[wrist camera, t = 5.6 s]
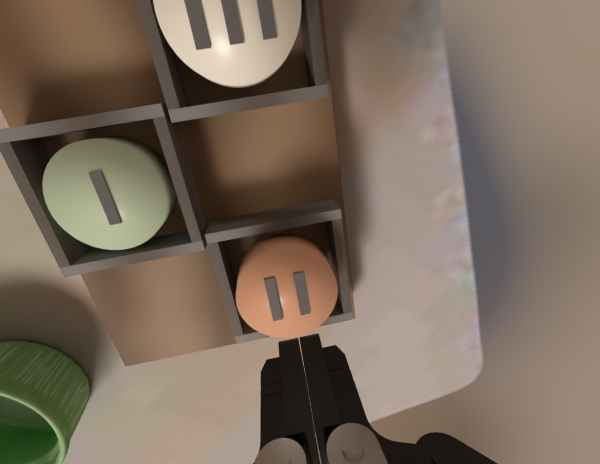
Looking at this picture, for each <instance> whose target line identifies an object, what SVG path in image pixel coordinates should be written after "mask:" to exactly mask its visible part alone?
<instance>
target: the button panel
mask: <svg viewBox="0 0 600 464" xmlns="http://www.w3.org/2000/svg"><path fill="white" fill-rule="evenodd" d="M0 108H1V110H2V112H3V115H4V117H5V119H6V121H7V123H8V125H9V127H10V128H6V129H0V152H1V154H2V156H3V157H4V159H5V161H6V163H7V165H8V167H9V169H10V171H11V173H12V175H13V177H14V179H15V181H16V183H17V185H18V187H19V189H20V191H21V193H22V195H23V197H24V199H25V201H26V203H27V205H28V207H29V209H30V210H31V212H32V214H33V216H34V218H35V220H36V222H37V224H38V226H39V228H40V230H41V232H42V234H43V236H44V238H45V240H46V242H47V244H48V246H49V248H50V250H51V252H52V254H53V256H54V258H55V260H56V262H57V264H58V265H59V267H60V269H61V271H62V273H63V275H64V277H67V276H72V275H77V274H81V276H82V278H83V280H84V282H85V284H86V286H87V288H88V290H89V292H90V294H91V296H92V298H93V300H94V302H95V305H96V307H97V309H98V311H99V313H100V315H101V317H102V319H103V321H104V323H105V325H106V327H107V329H108V331H109V333H110V336H111V338H112V340H113V342H114V344H115V346H116V348H117V350H118V352H119V354H120V356H121V358H122V360H123V362H124V364H125V366H130V365H134V364H139V363H144V362H149V361H154V360H158V359H163V358H168V357H173V356H177V355H182V354H187V353H192V352H197V351H201V350H206V349H211V348H216V347H221V346H225V345H230V344H235V343H242V342H247V341H252V340H256V339H261V338H266V337H271V336H268V335H264V334H262V333H260V332H258V331H256V330H254V329H253V328H252V327H250V326H249V325H248V324H247V323H246V322H245V321H244V319H243V318H242V317H241V315H240V313H239V311H238V308H237V304H236V288H237V280H238V272H239V267H240V263H241V261H242V259H243V257H244V256H245V254H246V253H247V251H248V250H249V249H250V248H251V247H252V246H253V245H255V244H256V243H257V242H259V241H261V240H262V239H264V238H267V237H269V236H273V235H277V234H295V235H299V236H302V237H305V238H307V239H309V240H311V241H312V242H314V243H315V244H316V245H317V246H319V247H320V249H321V250H322V251H323V252H324V254H325V256H326V258H327V260H328V262H329V265H330V267H331V269H332V271H333V273H334V275H335V278H336V281H337V286H338V295H337V301H336V304H335V307H334V309H333V311H332V312H331V314H330V315H329V317H328V318H327V319H326V320H325V321H324V322H323V323H322V324H321V325H320V326H323V325H328V324H333V323H338V322H342V321H347V320H352V319H354V318H355V310H354V300H353V291H352V282H351V272H350V263H349V253H348V244H347V234H346V225H345V215H344V206H343V196H342V187H341V178H340V168H339V159H338V149H337V140H336V130H335V121H334V111H333V102H332V93H331V83H330V74H329V64H328V55H327V45H326V36H325V26H324V17H323V7H322V0H301V20H300V26H299V30H298V34H297V37H296V40H295V42H294V45H293V47H292V49H291V51H290V53H289V55H288V56H287V58H286V60H285V62H284V63H283V65H282V66H281V67H280V69H279V70H278V71H277V72H276V73H275V74H274V75H273V76H271V77H270V78H269V79H267V80H266V81H264V82H262V83H260V84H258V85H255V86H251V87H247V88H230V87H225V86H222V85H219V84H216V83H214V82H212V81H210V80H208V79H206V78H205V77H203V76H202V75H200V74H198V73H197V72H195V71H194V70H192V69H191V68H190V67H189V66H188V65H186V64H185V63H184V62H183V61H182V60H181V59H180V58H179V57H178V56H177V54H176V53H175V52H174V50H173V49H172V48H171V46H170V45H169V43H168V41H167V40H166V38H165V36H164V34H163V32H162V30H161V28H160V25H159V22H158V19H157V16H156V13H155V8H154V4H153V0H0ZM105 136H123V137H128V138H132V139H135V140H138V141H140V142H142V143H144V144H146V145H148V146H149V147H151V148H152V149H153V150H155V151H156V152H157V153H158V154H159V155H160V156H161V157H162V158H163V159H164V160H165V162H166V163H167V165H168V168H169V172H170V175H171V178H172V181H173V184H174V187H175V191H176V194H177V198H176V204H175V207H174V209H173V211H172V213H171V215H170V216H169V218H168V219H167V220H166V221H165V223H164V224H163V225H162V226H161V227H160V229H159V230H158V231H157V232H156V233H155V234H154V235H153V236H152V237H151V238H150V239H149V240H147V241H146V242H144V243H142V244H141V245H138V246H136V247H133V248H129V249H123V250H107V249H101V248H96V247H93V246H90V245H88V244H85V243H83V242H81V241H79V240H78V239H76V238H74V237H73V236H71V235H70V234H69V233H67V232H66V231H65V230H64V229H63V228H62V227H61V226H60V225H59V224H58V223H57V222H56V220H55V219H54V218H53V216H52V215H51V213H50V211H49V209H48V207H47V205H46V202H45V199H44V195H43V187H42V185H43V175H44V171H45V169H46V166H47V164H48V163H49V161H50V159H51V158H52V157H53V156H54V155H55V153H57V152H58V151H59V150H60V149H62V148H63V147H65V146H67V145H69V144H71V143H74V142H77V141H81V140H87V139H93V138H99V137H105ZM318 327H319V326H318Z"/></svg>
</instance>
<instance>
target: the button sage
mask: <svg viewBox="0 0 600 464" xmlns="http://www.w3.org/2000/svg"><path fill="white" fill-rule="evenodd" d="M42 187H43V195H44V199H45V202H46V205H47V207H48V209H49V211H50V213H51V215H52V216H53V218H54V219H55V220H56V222H57V223H58V224H59V225H60V226H61V227H62V228H63V229H64V230H65V231H66V232H67V233H69V234H70V235H71V236H73V237H74V238H76V239H78V240H79V241H81V242H83V243H85V244H88V245H90V246H93V247H96V248H101V249H107V250H123V249H129V248H133V247H136V246H138V245H141V244H142V243H144V242H146V241H147V240H149V239H150V238H151V237H152V236H153V235H154V234H155V233H156V232H157V231H158V230H159V229H160V227H161V226H162V225H163V224H164V223H165V221H166V220H167V219H168V218H169V216H170V215H171V213H172V211H173V209H174V207H175V204H176V198H177V194H176V191H175V187H174V184H173V181H172V178H171V175H170V172H169V168H168V165H167V163H166V162H165V160H164V159H163V158H162V157H161V156H160V155H159V154H158V153H157V152H156V151H155V150H153V149H152V148H151V147H149V146H148V145H146V144H144V143H142V142H140V141H138V140H135V139H132V138H128V137H123V136H105V137H99V138H93V139H87V140H81V141H77V142H74V143H71V144H69V145H67V146H65V147H63V148H62V149H60V150H59V151H58V152H57V153H55V155H54V156H53V157H52V158H51V159H50V161H49V163H48V164H47V166H46V169H45V171H44V175H43V185H42Z"/></svg>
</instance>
